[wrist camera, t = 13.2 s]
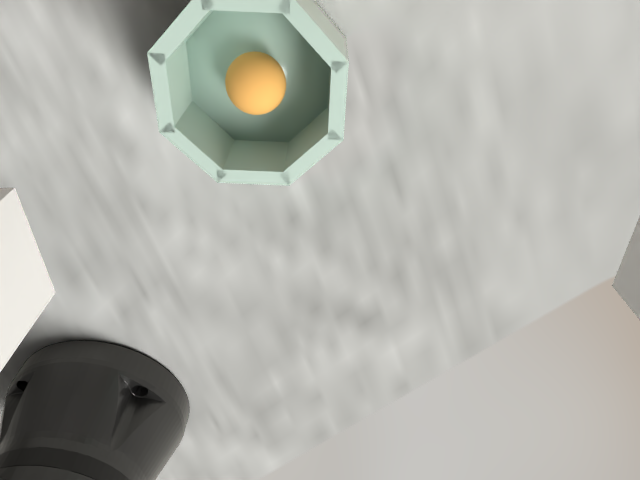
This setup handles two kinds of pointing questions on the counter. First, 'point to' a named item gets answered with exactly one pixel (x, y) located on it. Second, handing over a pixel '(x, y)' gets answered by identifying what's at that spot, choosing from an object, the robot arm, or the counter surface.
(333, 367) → the counter surface
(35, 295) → the robot arm
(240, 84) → the orange ball
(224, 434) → the counter surface
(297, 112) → the bowl
